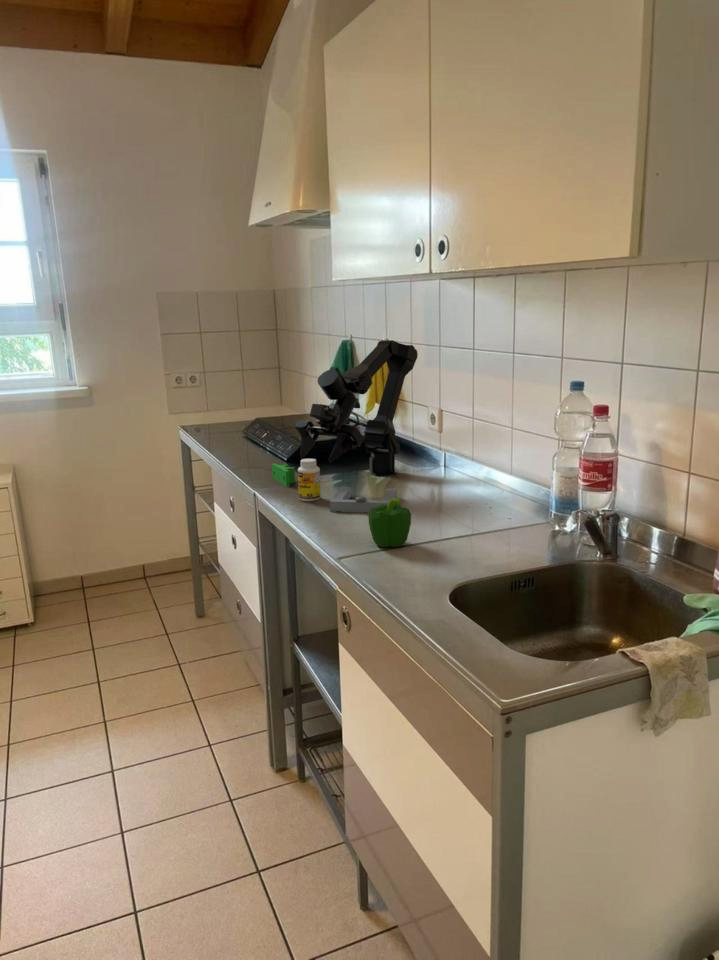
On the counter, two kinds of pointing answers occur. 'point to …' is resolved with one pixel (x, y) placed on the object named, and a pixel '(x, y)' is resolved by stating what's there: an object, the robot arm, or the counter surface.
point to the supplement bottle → (309, 480)
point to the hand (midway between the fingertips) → (315, 459)
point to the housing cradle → (358, 501)
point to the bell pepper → (390, 524)
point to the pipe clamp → (283, 474)
